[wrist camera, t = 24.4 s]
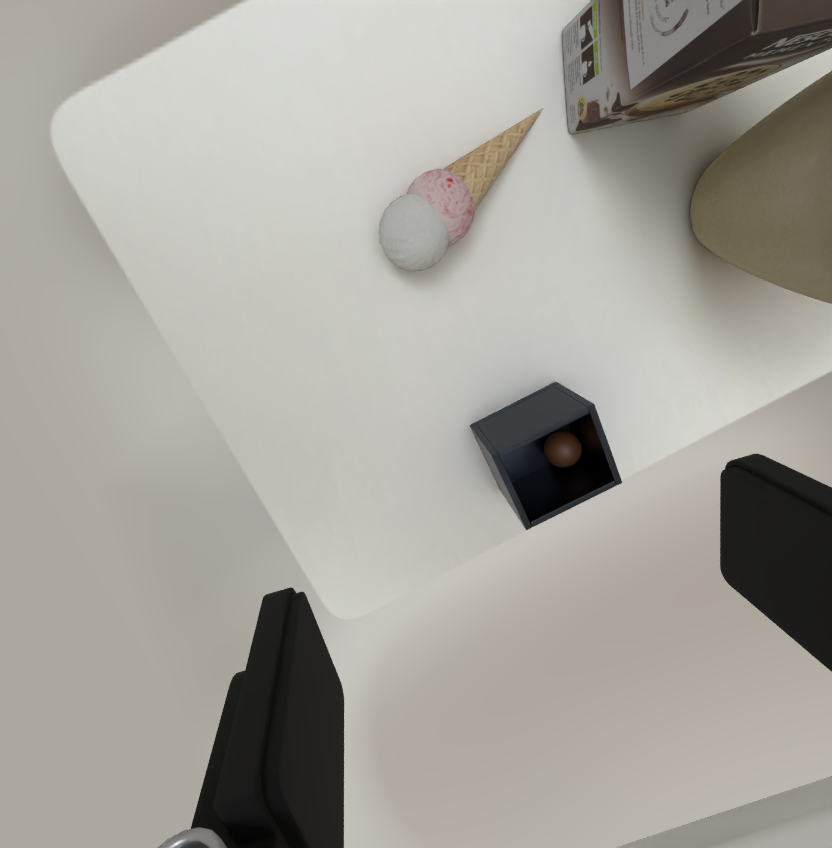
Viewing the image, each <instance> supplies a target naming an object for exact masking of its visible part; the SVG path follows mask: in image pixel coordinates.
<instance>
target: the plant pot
mask: <svg viewBox="0 0 832 848" xmlns="http://www.w3.org/2000/svg"><path fill="white" fill-rule="evenodd" d="M690 218H691V224H692V228H693V231H694V233H695V236H696V237H697V239H698V241H699V242H700V243H701V244H702V245H703V246H704V247H705V248H707V249H708V250H710V251H711V252H713V253H714V254H716V255H717V256H719V257H721V258H722V259H724V260H726V261H727V262H729V263H731V264H733V265H735V266H736V267H738V268H740V269H742V270H744V271H746V272H748V273H750V274H752V275H755V276H757V277H759V278H761V279H764V280H766V281H768V282H771V283H773V284H776V285H778V286H781V287H783V288H786V289H789V290H791V291H794V292H797V293H800V294H803V295H806V296H808V297H812V298H815V299H818V300H821V301H824V302H828V303H831V304H832V71H831V72H829V73H828V74H826V75H825V76H823V77H822V78H820V79H819V80H817V81H815V82H814V83H813V84H811V85H810V86H808V87H807V88H805V89H804V90H802V91H801V92H800V93H798V94H797V95H795V96H794V97H792V98H791V99H790V100H788V101H787V102H785V103H784V104H783V105H781V106H780V107H778V108H777V109H776V110H774V111H773V112H772V113H770V114H769V115H768V116H767V117H765V118H764V119H763V120H761V121H760V122H759V123H757V124H756V125H755V126H754V127H752V128H751V129H750V130H749V131H747V132H746V133H745V134H744V135H742V136H741V137H740V138H739V139H738V140H737V141H735V142H734V143H733V144H732V145H731V146H730V147H728V148H727V149H726V150H725V151H724V152H723V153H721V154H720V155H719V156H718V157H717V158H716V159H715V160H714V161H713V162H712V163H711V164H710V165H709V166H708V167H707V168H706V170H705V171H704V173H703V174H702V176H701V177H700V179H699V181H698V183H697V185H696V187H695V190H694V193H693V196H692V200H691V207H690Z"/></svg>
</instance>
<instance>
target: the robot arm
mask: <svg viewBox="0 0 832 848" xmlns="http://www.w3.org/2000/svg"><path fill="white" fill-rule="evenodd" d="M720 500H721V501H720V502H721V503H720V504H721V507H720V510H721V514H720V516H721V519H720V523H721V524H720V527H721V528H720V531H721V533H720V536H721V538H720V543H721V544H720V545H721V547H720V554H721V556H720V567H721V572H722V575H723V577H724V579H725V580H726V581H727V583H728V584H729V585H730V586H731V587H733V588H734V589H735V590H736V591H737V592H739V593H740V594H741V595H742V596H743V597H744V598H746V599H747V600H748V601H749V602H750V603H751V604H753V605H754V606H755V607H756V608H757V609H759V610H760V611H761V612H762V613H763V614H765V615H766V616H767V617H768V618H769V619H770V620H772V621H773V622H774V623H775V624H776V625H777V626H779V627H780V628H781V629H782V630H783V631H785V632H786V633H787V634H788V635H789V636H790V637H792V638H793V639H794V640H795V641H796V642H798V643H799V644H800V645H801V646H802V647H803V648H804V649H806V650H807V651H808V652H809V653H810V654H812V655H813V656H814V657H815V658H816V659H818V660H819V661H820V662H821V663H822V664H823V665H825V666H826V667H827V668H828V669H829V670H831V671H832V488H831V487H829V486H827V485H825V484H822V483H820V482H818V481H816V480H814V479H812V478H810V477H807V476H806V475H804V474H802V473H799V472H797V471H795V470H793V469H791V468H789V467H787V466H785V465H782V464H780V463H778V462H776V461H774V460H772V459H769V458H767V457H765V456H763V455H759V454H752V455H749V456H745V457H742V458H738V459H735V460H731V461H730V462H728V463H727V465H726V467H725V470H723V471H722V473H721V498H720ZM158 848H344V695H343V689H342V685H341V682H340V679H339V677H338V674H337V672H336V669H335V667H334V664H333V662H332V659H331V657H330V654H329V652H328V650H327V647H326V644H325V642H324V639H323V637H322V634H321V632H320V629H319V627H318V624H317V622H316V619H315V617H314V614H313V612H312V610H311V607H310V604H309V602H308V600H307V597H306V595H305V593H304V592H299V593H296V592H295V590H294V589H293V588H287V589H284V590H280V591H277V592H273V593H270V594H267V595H265V596H264V597H263V600H262V604H261V608H260V612H259V616H258V621H257V625H256V629H255V633H254V637H253V641H252V645H251V649H250V654H249V658H248V662H247V666H246V670H245V671H242V672H239V673H236V674H235V675H234V677H233V678H232V681H231V683H230V686H229V690H228V694H227V697H226V701H225V704H224V708H223V712H222V715H221V719H220V723H219V727H218V730H217V734H216V738H215V741H214V745H213V749H212V753H211V756H210V760H209V763H208V768H207V771H206V774H205V778H204V782H203V786H202V789H201V793H200V797H199V801H198V804H197V808H196V812H195V815H194V819H193V822H192V826H191V829H189V830H185V831H182V832H181V833H179V834H177V835H175V836H173V837H171V838H169V839H167V840H166V841H165V842H164V843H163V844H161V845H160V846H159V847H158ZM617 848H832V776H831V777H828V778H825V779H822V780H819V781H816V782H813V783H810V784H807V785H804V786H801V787H798V788H795V789H792V790H789V791H786V792H783V793H780V794H776V795H773V796H770V797H767V798H764V799H761V800H758V801H755V802H752V803H749V804H746V805H743V806H740V807H737V808H734V809H731V810H728V811H725V812H722V813H719V814H716V815H713V816H710V817H707V818H704V819H701V820H698V821H695V822H692V823H689V824H686V825H683V826H680V827H677V828H673V829H671V830H668V831H664V832H662V833H659V834H656V835H652V836H650V837H646V838H644V839H640V840H637V841H635V842H632V843H629V844H626V845H623V846H620V847H617Z"/></svg>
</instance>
